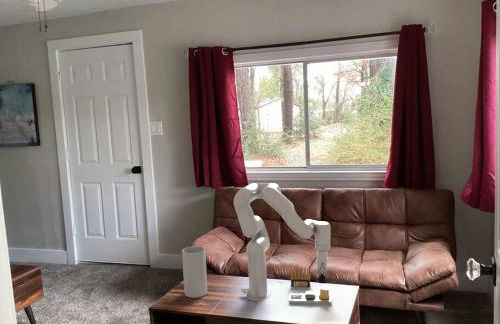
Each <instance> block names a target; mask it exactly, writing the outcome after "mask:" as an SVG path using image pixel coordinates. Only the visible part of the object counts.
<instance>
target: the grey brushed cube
mask: <svg viewBox="0 0 500 324" xmlns="http://www.w3.org/2000/svg"><path fill="white" fill-rule="evenodd" d="M305 294H306V300H314V294H315V291H314V290H306V291H305Z"/></svg>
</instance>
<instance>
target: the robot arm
mask: <svg viewBox="0 0 500 324" xmlns="http://www.w3.org/2000/svg"><path fill="white" fill-rule="evenodd" d="M257 199H259V200H261V199H263V201H264V202H266V203H267V204H268V205H269V206H270V207H271V208H273V210H275V211H276V212H277V213H278V214H279V215H280V216H281V218H282V220H284V222H285V224H286V225H287V226H288V227H289V229H291V231H293V232H294V233H295V234H296V235H297V236H298V237H300V238H301V239H303V240H304V239H307V240H308V239H310V238H311V237H312V236H313V235H314V250H315V251H316V263H315V264H316V270H317V271H318V283H319V284H326V271H327V267H328V266H327V265H328V255H329V254H328V252H329V251H331V224H330V222H328V221H321V220H320V221H318V220H314V219H308V218H307V219H305V220H303V218H301V217H300V216H299V215H298V214H297V212H296V210H295V206H294V204H293V202H292V201H290V200H289V198H287V197H286V196H285V195H284V194H282V189H281V187H280V185H278V184H277V183H275V182H274V183H272V182H271V183H266V182H263V183H261V182H260V183H257V182H256V183H255V182H254V183H249V184H248V185H245V186H243V187H242V188H241V189H240V190H238V191H237V192H236V193H235V195H234V198H233V206H234V209H235V212H236V215H237V219H238V222H239V224H240V228H241V231H242V234H243V235H244V236H245V237H246V238H251V239H250V241H249V242H248V243H247V245H246V249H245V250H246V257H247V270H248V287H247V288H245V287H242V288H241V293H242V294H246V298H247V300H249V301H252V302H258V301H263V300H267V299H268V298H269V297H271V293H270V292H269V291H268V284H267V283H268V280H267V276H268V275H267V260H266V254H265V253H266V251H268V249H269V248H270V245H271V243H270V242H271V241H270V238H269V234H268V231H267V228H266V225H265V223H264V220H263V219H262V218H261V217H260V216H258V215H255V214H254V211H253V208H252V206H251V203H252V202H253V201H255V200H257Z"/></svg>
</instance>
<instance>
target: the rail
mask: <svg viewBox="0 0 500 324" xmlns="http://www.w3.org/2000/svg"><path fill="white" fill-rule="evenodd" d="M288 299H289V300H288V304H289V305H311V306H312V305H313V306H319V305H320V306H332V295H331V293H329V300H320V293H318V294H317V293H314V300H306V293H290V294H289V297H288Z"/></svg>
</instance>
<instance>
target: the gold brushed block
mask: <svg viewBox="0 0 500 324" xmlns="http://www.w3.org/2000/svg"><path fill="white" fill-rule="evenodd" d="M329 289H330V287H329V286H325V285H324V286H323V285H322V286H321V285H320V286H319V294H320V300H329V294H330V291H329Z"/></svg>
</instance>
